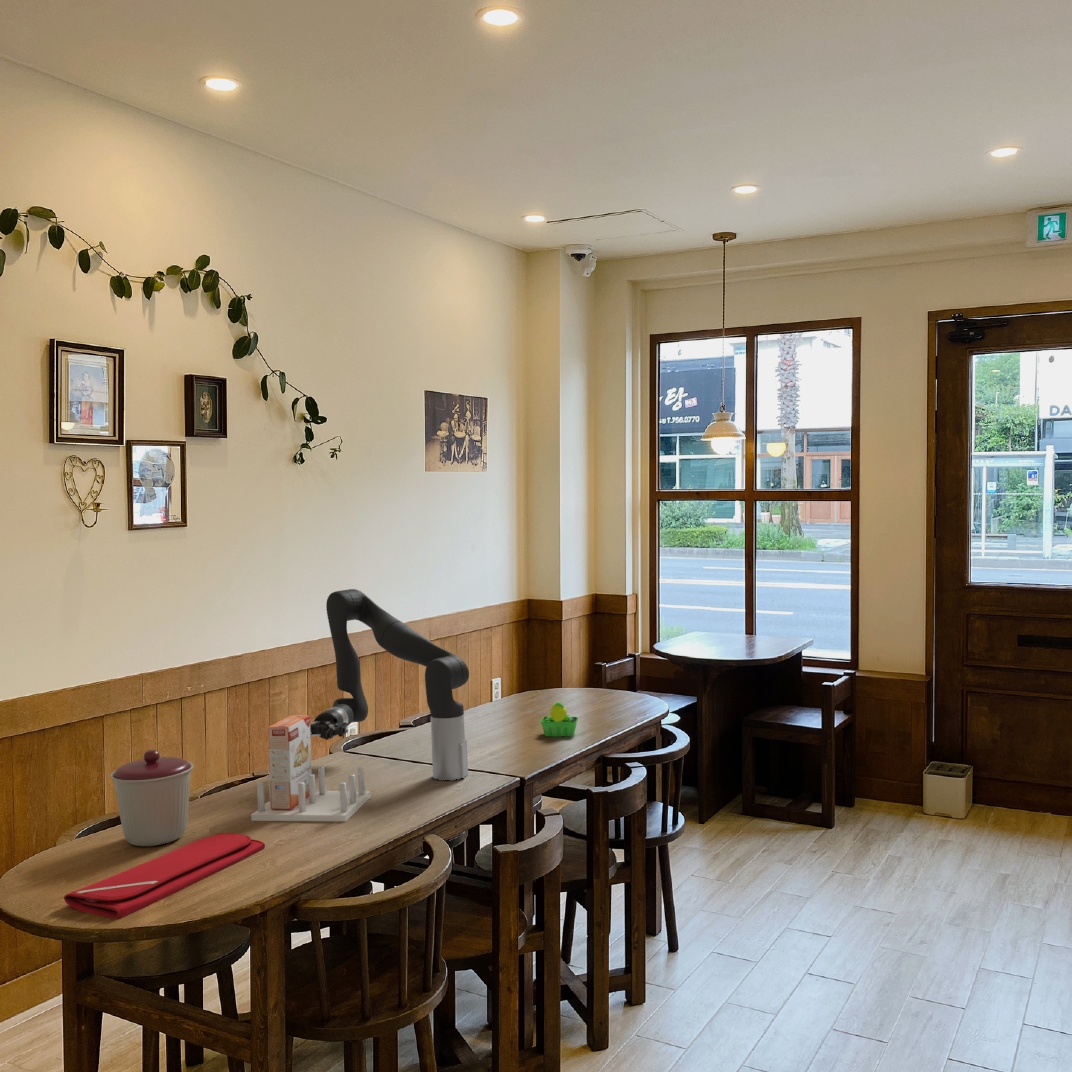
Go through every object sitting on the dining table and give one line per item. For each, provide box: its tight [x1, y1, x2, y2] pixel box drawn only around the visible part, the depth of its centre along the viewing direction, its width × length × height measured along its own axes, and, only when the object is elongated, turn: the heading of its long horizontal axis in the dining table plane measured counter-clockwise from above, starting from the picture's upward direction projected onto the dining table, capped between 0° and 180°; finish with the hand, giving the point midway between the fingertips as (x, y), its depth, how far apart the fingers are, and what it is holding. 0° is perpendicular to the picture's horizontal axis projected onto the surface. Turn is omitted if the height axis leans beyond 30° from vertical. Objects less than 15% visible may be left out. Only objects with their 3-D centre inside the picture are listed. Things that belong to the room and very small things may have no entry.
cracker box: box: [267, 714, 313, 810], centre depth 256 cm, size 14×6×21 cm, turn 171°
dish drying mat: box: [63, 832, 266, 920], centre depth 212 cm, size 16×41×4 cm, turn 154°
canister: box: [109, 749, 194, 847], centre depth 236 cm, size 18×18×21 cm
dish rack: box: [250, 766, 372, 823], centre depth 255 cm, size 24×20×8 cm
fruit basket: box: [540, 701, 579, 738], centre depth 324 cm, size 11×9×11 cm
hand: (310, 736), depth 270 cm, fingers open, 8 cm apart
